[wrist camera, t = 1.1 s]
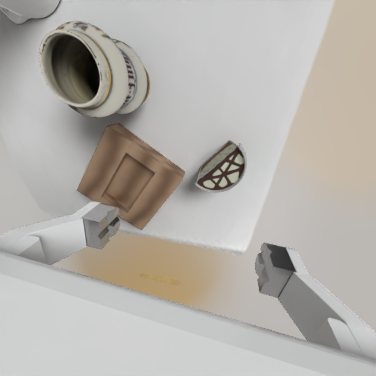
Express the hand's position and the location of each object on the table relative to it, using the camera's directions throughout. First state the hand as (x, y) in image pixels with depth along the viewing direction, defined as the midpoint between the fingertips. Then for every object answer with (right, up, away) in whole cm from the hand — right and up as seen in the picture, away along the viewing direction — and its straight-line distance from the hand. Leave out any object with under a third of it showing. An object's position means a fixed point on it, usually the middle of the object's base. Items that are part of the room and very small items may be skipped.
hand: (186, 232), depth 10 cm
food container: (+9, +9, +34) cm, 36 cm away
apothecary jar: (-13, +26, +29) cm, 41 cm away
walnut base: (-15, +6, +38) cm, 42 cm away
